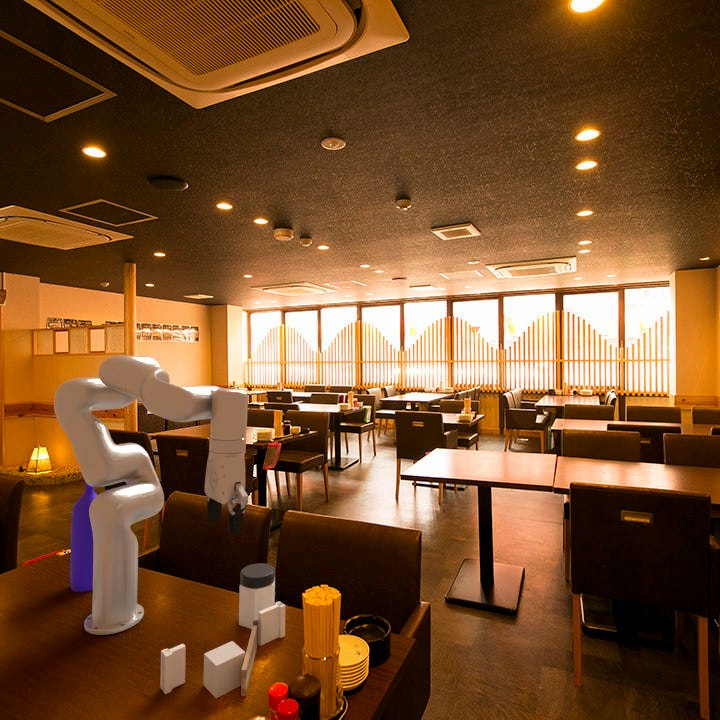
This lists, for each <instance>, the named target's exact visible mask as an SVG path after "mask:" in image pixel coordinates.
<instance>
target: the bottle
mask: <svg viewBox="0 0 720 720" xmlns="http://www.w3.org/2000/svg"><path fill="white" fill-rule="evenodd" d="M82 480H83V481H85V479H84V478H83V479H82ZM94 488H95V487H91V486H89V485H88V484H87V483H86V481H85V489H84V493H83V494H82V495H81V496H80V498H79V499H78V500H76V502H75V503H74V505H73V508H72V511H71V525H70V526H71V530H70V560H69V561H70V566H69V567H70V569H69V570H70V571H69V572H70V573H69V575H70V576H69V578H70V589H71V590H72V592H75V593H85V592H86V593H87V592H91V591H93V532H92V526H91V522H90V516H89V509H90V505H91V503H92V501H93V500H94V499H95V498H96V497H97V496H98V495H99V494H97V493H96V492H95V489H94Z"/></svg>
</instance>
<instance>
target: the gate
mask: <svg viewBox="0 0 720 720" xmlns="http://www.w3.org/2000/svg"><path fill="white" fill-rule="evenodd" d="M258 623H259V621H258V620H254V621H253V628H252V629H251V633H250V636H249V639H248V645H247V648H246V651H245V659H244V663H243V667H242V679H241V685H240V686H241V688H240V689H241V690H240V694H241V695H240V696H241V697H246V696H247V695H248V693H247V692H248V689H249V685H250V684H249V683H250V681H251V676H252V671H253V667H254V663H255V658H256V655H257V654H256V653H257V648H258V646H259V644H258Z"/></svg>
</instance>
